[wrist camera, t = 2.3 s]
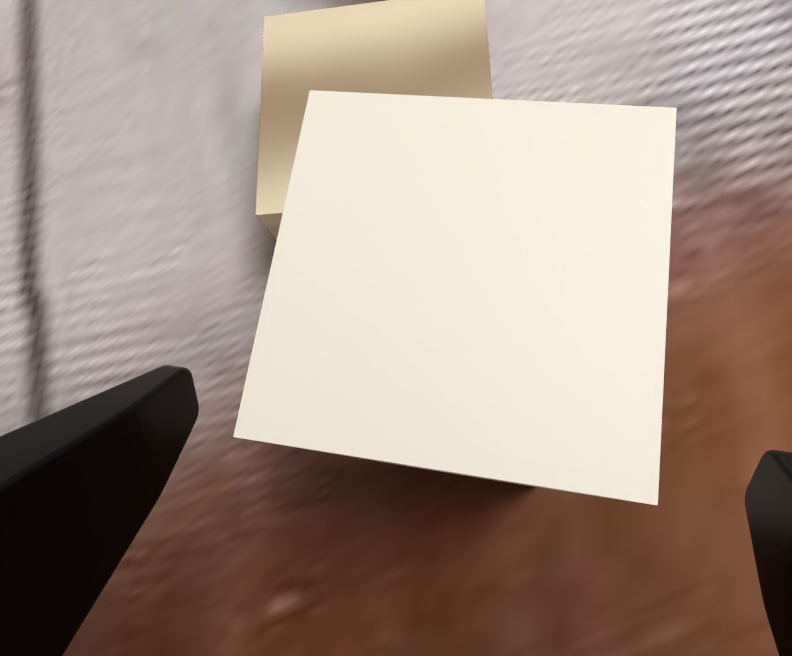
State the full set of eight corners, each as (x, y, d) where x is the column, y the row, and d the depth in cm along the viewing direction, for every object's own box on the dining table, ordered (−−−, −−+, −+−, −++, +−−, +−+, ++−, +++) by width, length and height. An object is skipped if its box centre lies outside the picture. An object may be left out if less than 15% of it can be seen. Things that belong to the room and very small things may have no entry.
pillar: (536, 487, 17) (657, 505, 6) (389, 463, 18) (233, 436, 6) (549, 342, 18) (676, 108, 7) (411, 326, 19) (310, 90, 7)
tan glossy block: (495, 249, 19) (500, 193, 16) (297, 265, 20) (255, 214, 16) (482, 76, 21) (483, -13, 17) (300, 96, 22) (264, 16, 18)
